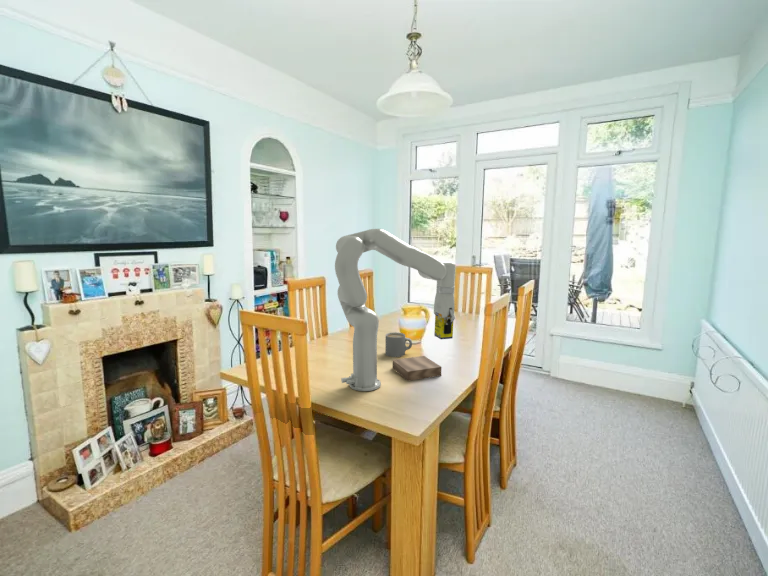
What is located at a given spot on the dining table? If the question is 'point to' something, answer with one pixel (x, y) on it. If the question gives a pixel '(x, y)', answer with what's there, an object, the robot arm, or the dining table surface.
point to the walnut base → (416, 368)
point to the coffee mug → (396, 344)
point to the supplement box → (441, 327)
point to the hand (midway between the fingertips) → (443, 331)
